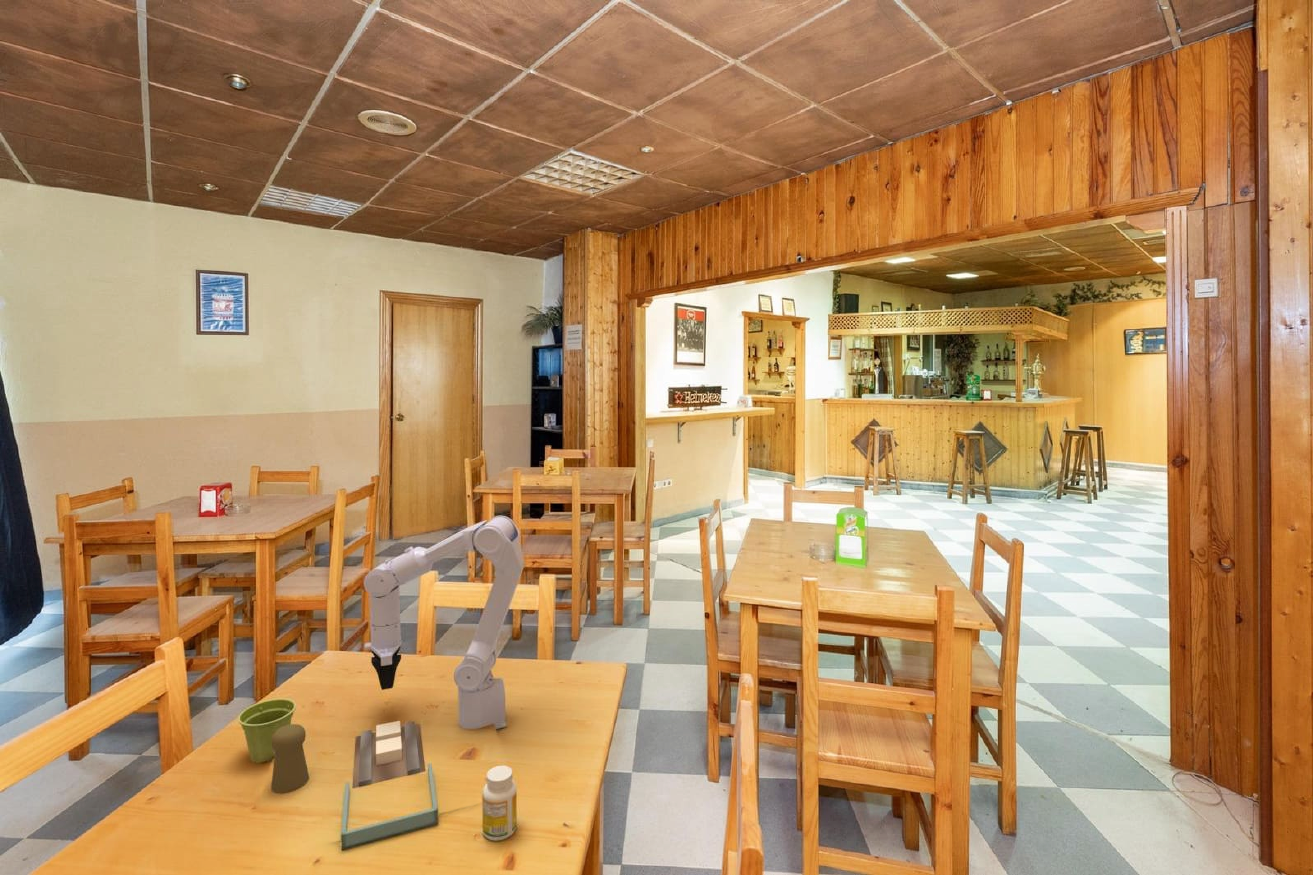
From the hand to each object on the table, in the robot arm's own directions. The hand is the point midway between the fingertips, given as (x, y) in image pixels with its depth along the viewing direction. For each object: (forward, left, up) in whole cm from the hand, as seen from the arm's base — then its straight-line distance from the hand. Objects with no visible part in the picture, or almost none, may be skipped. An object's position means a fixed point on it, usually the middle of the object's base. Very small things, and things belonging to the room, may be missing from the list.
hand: (387, 684), depth 128 cm
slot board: (0, +14, -8) cm, 16 cm away
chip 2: (0, +15, -7) cm, 16 cm away
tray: (0, +29, -8) cm, 30 cm away
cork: (+16, +16, -9) cm, 24 cm away
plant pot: (+21, +3, -9) cm, 23 cm away
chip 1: (0, +9, -7) cm, 11 cm away
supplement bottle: (-16, +41, -9) cm, 45 cm away
